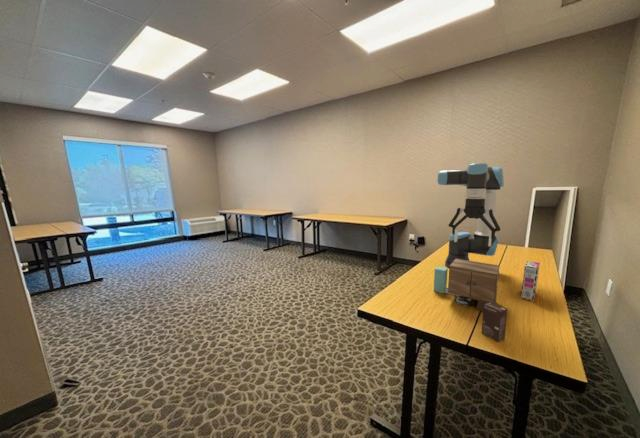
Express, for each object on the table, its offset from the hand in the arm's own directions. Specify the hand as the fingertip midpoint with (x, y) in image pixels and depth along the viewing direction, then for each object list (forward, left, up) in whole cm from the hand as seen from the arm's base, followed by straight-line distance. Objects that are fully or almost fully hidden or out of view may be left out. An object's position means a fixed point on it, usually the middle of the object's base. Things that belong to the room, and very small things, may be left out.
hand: (472, 243), depth 113 cm
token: (+5, -1, -28) cm, 29 cm away
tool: (-3, -7, -28) cm, 29 cm away
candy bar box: (-22, +23, -28) cm, 42 cm away
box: (+27, +12, -28) cm, 41 cm away
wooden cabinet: (+2, +2, -28) cm, 28 cm away
